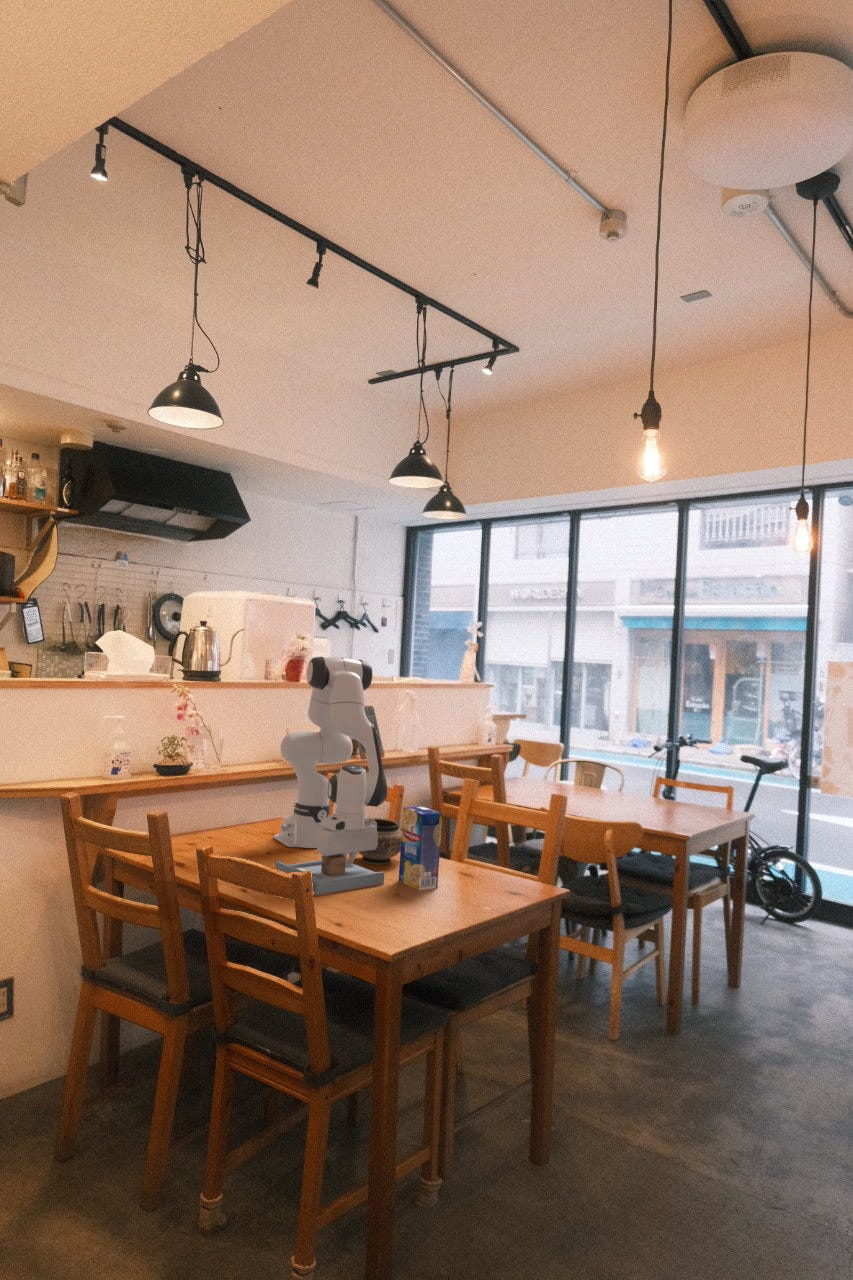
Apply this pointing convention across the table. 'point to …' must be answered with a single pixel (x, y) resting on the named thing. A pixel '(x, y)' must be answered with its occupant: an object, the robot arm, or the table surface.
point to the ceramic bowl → (384, 842)
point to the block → (333, 865)
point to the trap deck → (335, 877)
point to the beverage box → (420, 847)
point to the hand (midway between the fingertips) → (346, 867)
